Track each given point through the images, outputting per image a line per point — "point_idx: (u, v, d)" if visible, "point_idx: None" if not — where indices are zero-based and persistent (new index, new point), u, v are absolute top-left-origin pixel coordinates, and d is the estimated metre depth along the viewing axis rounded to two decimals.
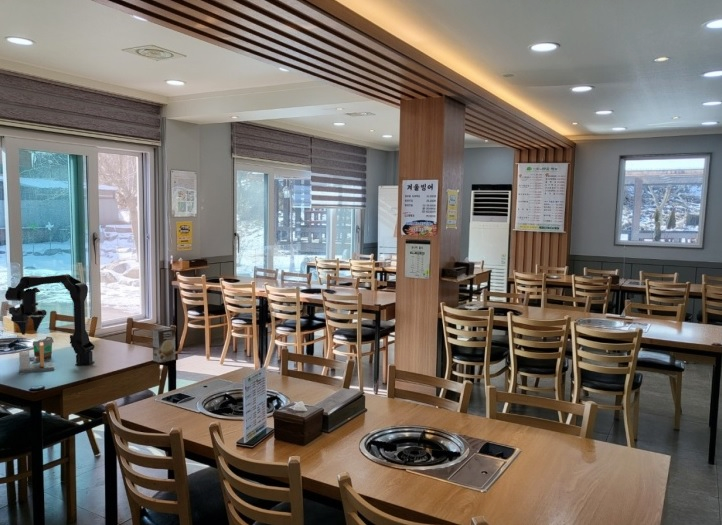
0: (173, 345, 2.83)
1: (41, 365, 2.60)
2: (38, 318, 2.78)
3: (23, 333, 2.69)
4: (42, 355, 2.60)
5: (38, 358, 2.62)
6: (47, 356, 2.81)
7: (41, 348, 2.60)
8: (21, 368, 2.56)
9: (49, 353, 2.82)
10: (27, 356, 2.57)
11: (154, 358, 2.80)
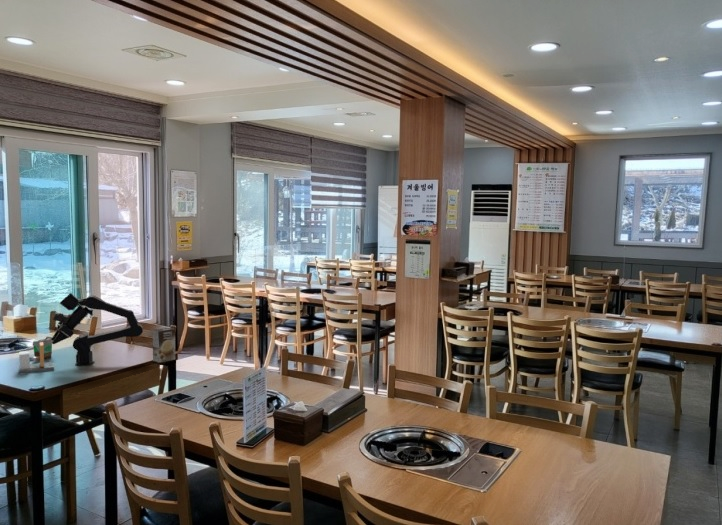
0: (173, 345, 2.83)
1: (41, 365, 2.60)
2: None
3: (54, 343, 2.62)
4: (42, 355, 2.60)
5: (38, 358, 2.62)
6: (47, 356, 2.81)
7: (41, 348, 2.60)
8: (21, 368, 2.56)
9: (49, 353, 2.82)
10: (27, 356, 2.57)
11: (154, 358, 2.80)
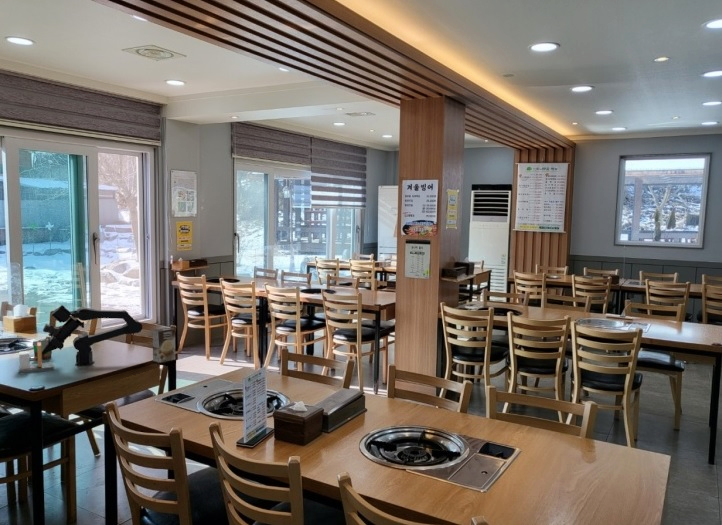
0: (173, 345, 2.83)
1: (39, 365, 2.60)
2: None
3: (43, 353, 2.63)
4: (40, 355, 2.59)
5: (36, 358, 2.61)
6: (47, 356, 2.81)
7: (39, 348, 2.59)
8: (21, 368, 2.56)
9: (49, 353, 2.82)
10: (27, 356, 2.57)
11: (154, 358, 2.80)
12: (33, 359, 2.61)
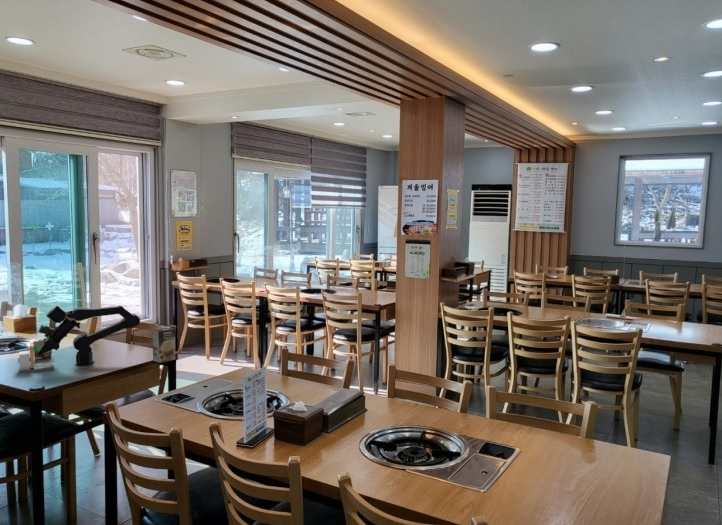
0: (173, 345, 2.83)
1: (31, 366, 2.58)
2: None
3: (39, 354, 2.62)
4: (32, 356, 2.58)
5: None
6: (47, 356, 2.81)
7: (31, 349, 2.57)
8: (21, 368, 2.56)
9: (49, 353, 2.82)
10: (27, 356, 2.57)
11: (154, 358, 2.80)
12: None
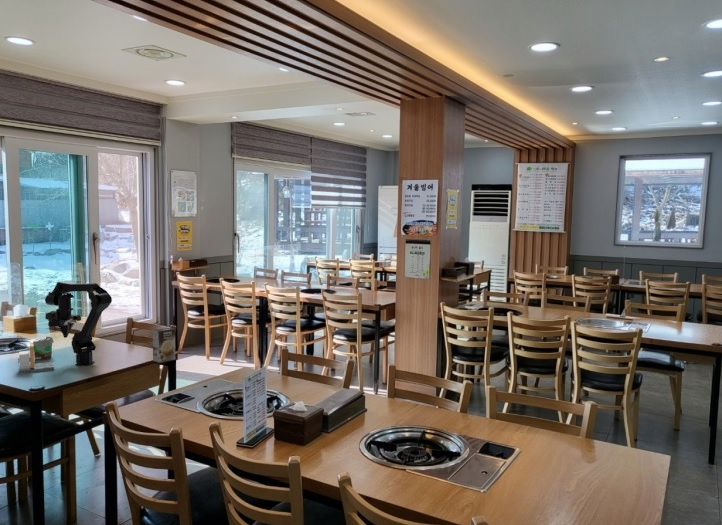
0: (173, 345, 2.83)
1: (31, 366, 2.58)
2: None
3: (65, 336, 2.76)
4: (32, 356, 2.58)
5: None
6: (47, 356, 2.81)
7: (31, 349, 2.57)
8: (21, 368, 2.56)
9: (49, 353, 2.82)
10: (27, 356, 2.57)
11: (154, 358, 2.80)
12: None
